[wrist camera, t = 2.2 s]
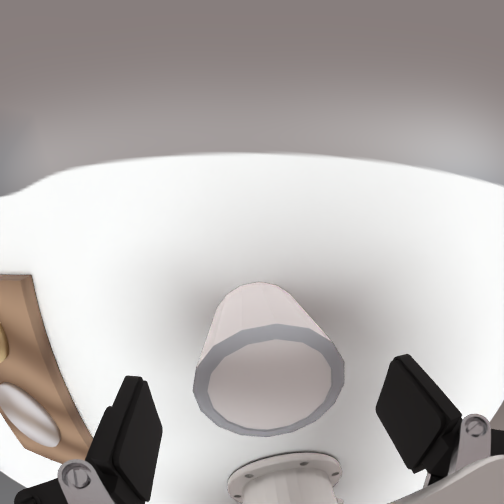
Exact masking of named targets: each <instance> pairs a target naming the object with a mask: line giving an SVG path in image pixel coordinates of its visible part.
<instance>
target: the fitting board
mask: <svg viewBox="0 0 504 504" xmlns="http://www.w3.org/2000/svg"><path fill="white" fill-rule="evenodd" d="M0 413H1V414H2V416H3V418H4V419H5V421H6V422H7V424H8V425H9V427H10V428H11V430H12V431H13V433H14V434H15V436H16V437H17V439H18V440H19V441H20V443H21V444H22V445H23V447H24V448H25V449H27V450H30V451H32V452H34V453H36V454H39V455H41V456H43V457H46V458H48V459H51V460H53V461H56V462H59V463H61V464H63V463H65V462H67V461H69V460H73V459H81V460H85V458H86V455H87V453H88V450H89V448H90V445H91V443H92V440H93V438H92V437H91V435H90V433H89V431H88V429H87V428H86V426H85V424H84V422H83V420H82V418H81V416H80V415H79V413H78V411H77V409H76V407H75V405H74V402H73V400H72V398H71V396H70V394H69V392H68V389H67V387H66V385H65V383H64V380H63V378H62V376H61V373H60V371H59V368H58V366H57V363H56V360H55V358H54V355H53V352H52V349H51V346H50V343H49V340H48V337H47V334H46V331H45V328H44V325H43V321H42V318H41V314H40V310H39V307H38V303H37V299H36V294H35V290H34V285H33V281H32V276H31V275H0Z"/></svg>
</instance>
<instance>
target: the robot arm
mask: <svg viewBox="0 0 504 504" xmlns="http://www.w3.org/2000/svg"><path fill="white" fill-rule="evenodd" d="M376 413H377V415H378V417H379V419H380V420H381V422H382V424H383V426H384V427H385V429H386V431H387V433H388V434H389V436H390V438H391V440H392V441H393V443H394V445H395V447H396V449H397V450H398V452H399V454H400V456H401V457H402V459H403V461H404V463H405V465H406V467H407V468H408V469H411V470H412V471H413V473H414V474H415V473H417V472H419V471H421V470H424V469H426V470H427V476H426V479H425V483H424V486H423V489H421V490H419V491H417V492H414V493H412V494H410V495H408V496H405V497H403V498H401V499H398V500H396V501H393V502H391V503H388V504H504V431H501V430H495V429H491V426H490V423H489V421H488V420H487V419H486V418H485V417H484V416H482V415H479V414H470V415H468V416H466V417H465V418H464V419H462V418H461V416H462V414H461V412H460V411H459V410H458V409H457V408H456V407H455V405H454V404H453V403H452V402H451V401H450V400H449V398H448V397H447V396H446V395H445V394H444V393H443V391H442V390H441V389H440V388H439V387H438V386H437V385H436V384H435V382H434V381H433V380H432V379H431V378H430V377H429V376H428V375H427V373H426V372H425V371H424V370H423V369H422V368H421V367H420V366H419V365H418V363H417V362H416V361H415V360H414V359H413V358H412V357H411V356H410V355H409V354H405V355H401V356H397V357H395V358H394V359H393V361H391V363H390V365H389V369H388V372H387V375H386V378H385V382H384V385H383V388H382V391H381V393H380V396H379V399H378V402H377V405H376ZM161 437H162V425H161V422H160V419H159V416H158V413H157V411H156V408H155V405H154V402H153V399H152V396H151V392H150V389H149V386H148V383H147V381H143V379H142V377H138V376H126V377H125V378H124V381H123V383H122V385H121V387H120V389H119V392H118V394H117V396H116V399H115V401H114V403H113V405H112V406H109V407H107V409H106V410H105V412H104V415H103V417H102V419H101V421H100V424H99V426H98V428H97V431H96V433H95V436H94V438H93V440H92V443H91V445H90V448H89V450H88V453H87V455H86V458H85V460H81V459H73V460H69V461H67V462H65V463H63V464H62V465H61V466H60V468H59V470H58V478H56V479H54V480H51V481H48V482H45V483H42V484H39V485H36V486H33V487H30V488H27V489H23V490H22V491H20V492H18V494H17V495H16V497H15V500H14V504H145V501H147V502H149V500H150V497H151V491H152V485H153V479H154V474H155V468H156V463H157V458H158V452H159V447H160V442H161ZM341 475H342V470H341V467H340V464H339V462H338V461H337V460H336V459H335V458H333V457H331V456H328V455H324V454H319V453H293V454H284V455H279V456H274V457H269V458H266V459H262V460H259V461H256V462H253V463H250V464H248V465H246V466H244V467H242V468H240V469H239V470H237V471H236V472H234V473H233V474H232V475H231V476H230V478H229V480H228V489H227V490H228V493H229V495H230V496H231V497H232V498H233V499H235V500H236V501H238V502H240V503H243V504H343V500H342V499H339V498H336V497H335V494H334V491H333V488H332V487H334V486H335V485H336V483H337V482H338V481H339V479H340V478H341Z"/></svg>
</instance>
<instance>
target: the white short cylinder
mask: <svg viewBox="0 0 504 504" xmlns="http://www.w3.org/2000/svg"><path fill="white" fill-rule="evenodd" d="M343 385H344V361H343V359H342V357H341V355H340V354H339V352H338V350H337V349H336V347H335V345H334V344H333V342H332V341H331V340H330V339H329V337H328V336H327V335H326V334H325V333H324V332H323V331H322V330H321V328H320V327H319V326H318V325H317V324H316V323H315V322H314V320H313V319H312V318H311V317H310V316H309V315H308V314H307V313H306V311H305V310H304V309H303V308H302V307H301V306H300V305H299V304H298V302H297V301H296V300H295V299H294V298H293V297H292V296H291V295H290V294H289V293H288V292H286V291H285V290H283V289H282V288H280V287H279V286H277V285H273V284H268V283H263V282H255V283H250V284H245V285H241V286H239V287H238V288H236V289H234V290H233V291H231V292H230V293H228V294H227V295H226V296H225V297H224V299H223V300H222V302H221V303H220V304H219V306H218V307H217V309H216V312H215V315H214V318H213V321H212V324H211V327H210V329H209V332H208V335H207V338H206V341H205V344H204V347H203V350H202V353H201V355H200V358H199V361H198V364H197V367H196V372H195V379H194V385H193V393H194V395H195V398H196V400H197V403H198V405H199V408H200V410H201V411H202V412H203V413H204V414H205V415H206V416H207V417H208V418H209V419H210V420H212V421H213V422H214V423H215V424H216V425H217V426H219V427H222V428H224V429H227V430H229V431H232V432H234V433H237V434H240V435H246V436H259V437H270V436H275V435H281V434H286V433H291V432H294V431H296V430H298V429H300V428H302V427H304V426H306V425H308V424H310V423H312V422H314V421H316V420H317V419H318V418H319V417H321V416H322V415H323V414H324V413H325V412H326V411H327V410H328V409H329V408H330V407H331V406H332V405H333V404H334V403H335V401H336V399H337V397H338V395H339V393H340V391H341V389H342V387H343Z"/></svg>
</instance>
